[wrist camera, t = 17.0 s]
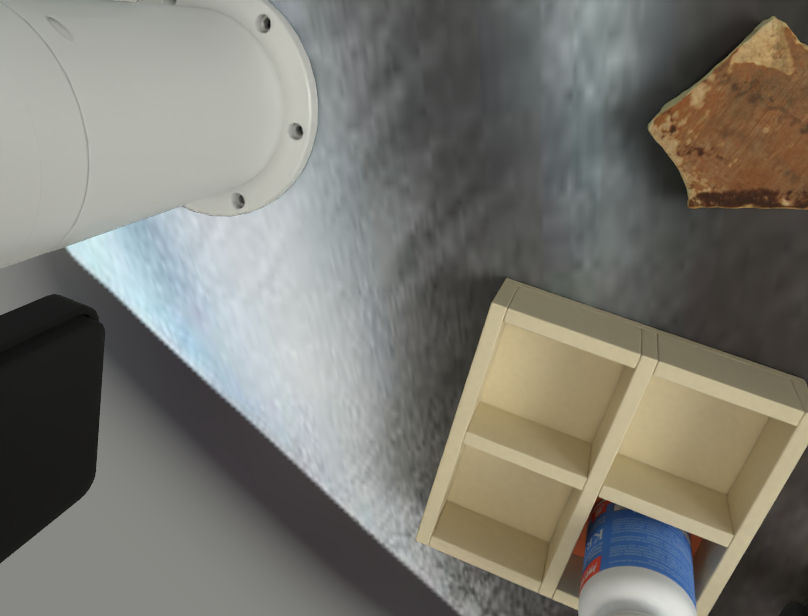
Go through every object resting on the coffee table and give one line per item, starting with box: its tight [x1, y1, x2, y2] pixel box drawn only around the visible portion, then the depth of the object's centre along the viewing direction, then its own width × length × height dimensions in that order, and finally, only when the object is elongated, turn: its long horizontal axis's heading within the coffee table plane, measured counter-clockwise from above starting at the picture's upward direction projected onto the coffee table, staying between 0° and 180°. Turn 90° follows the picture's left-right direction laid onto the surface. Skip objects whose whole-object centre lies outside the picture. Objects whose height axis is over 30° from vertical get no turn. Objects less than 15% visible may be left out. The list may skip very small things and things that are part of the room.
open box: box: [415, 278, 808, 616], centre depth 37 cm, size 15×15×4 cm
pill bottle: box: [578, 499, 697, 616], centre depth 35 cm, size 6×5×10 cm
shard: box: [648, 16, 808, 209], centre depth 31 cm, size 11×8×2 cm
